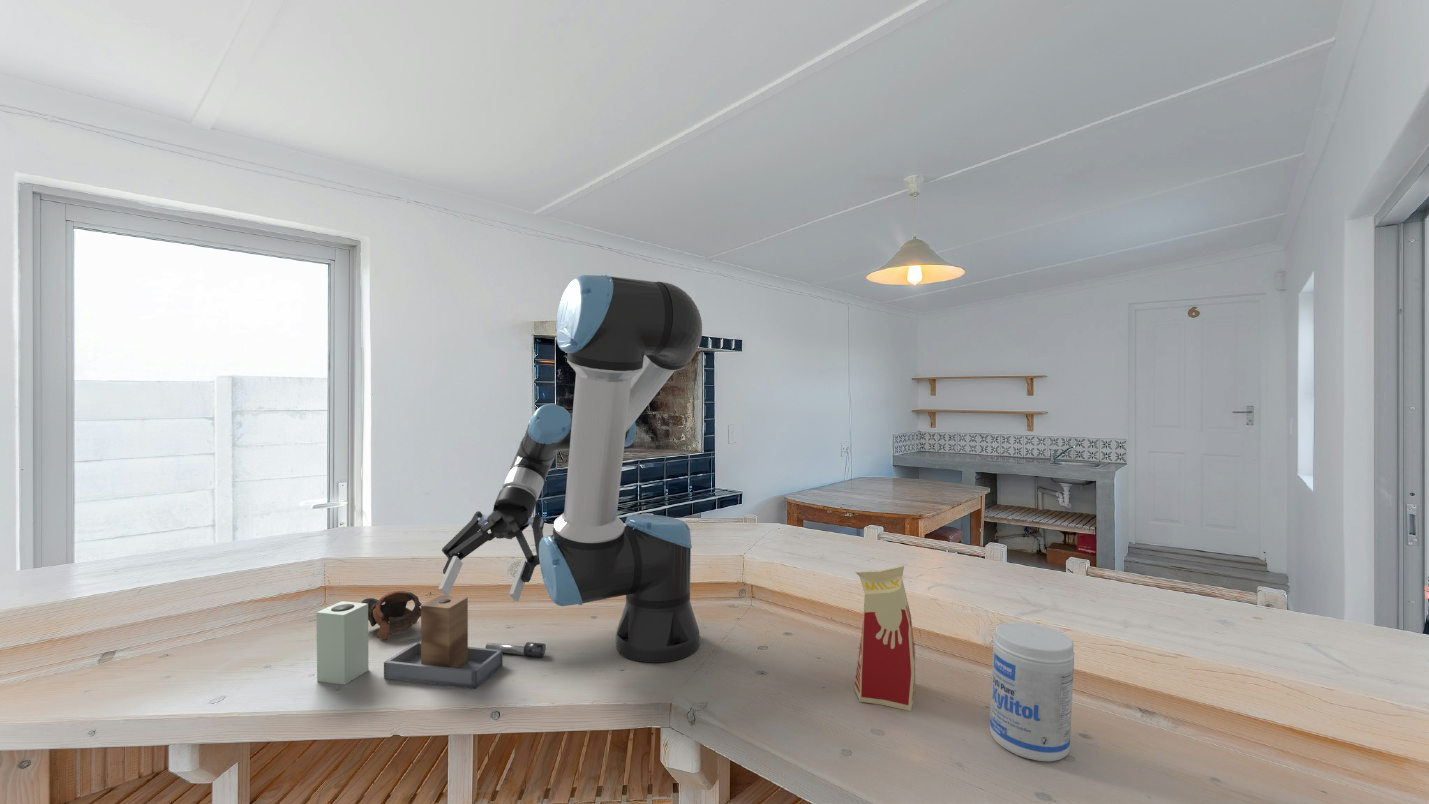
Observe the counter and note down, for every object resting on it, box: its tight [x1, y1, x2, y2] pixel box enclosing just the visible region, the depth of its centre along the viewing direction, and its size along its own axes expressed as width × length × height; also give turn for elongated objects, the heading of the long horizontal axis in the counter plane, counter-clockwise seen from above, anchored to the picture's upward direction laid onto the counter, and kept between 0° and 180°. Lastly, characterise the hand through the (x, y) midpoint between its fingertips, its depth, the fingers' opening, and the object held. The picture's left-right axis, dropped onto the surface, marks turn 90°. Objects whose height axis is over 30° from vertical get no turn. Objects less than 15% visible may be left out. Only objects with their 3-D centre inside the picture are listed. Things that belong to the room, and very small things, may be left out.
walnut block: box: [420, 594, 469, 669], centre depth 100 cm, size 5×5×11 cm
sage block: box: [315, 600, 370, 685], centre depth 98 cm, size 5×5×11 cm
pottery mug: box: [360, 590, 423, 641], centre depth 116 cm, size 12×10×8 cm
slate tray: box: [383, 641, 504, 690], centre depth 100 cm, size 16×8×3 cm, turn 79°
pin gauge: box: [484, 641, 547, 658], centre depth 107 cm, size 10×2×2 cm, turn 79°
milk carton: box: [853, 565, 916, 712], centre depth 95 cm, size 9×9×20 cm
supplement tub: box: [989, 621, 1075, 762], centre depth 81 cm, size 10×10×15 cm
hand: (477, 595), depth 109 cm, fingers open, 13 cm apart
